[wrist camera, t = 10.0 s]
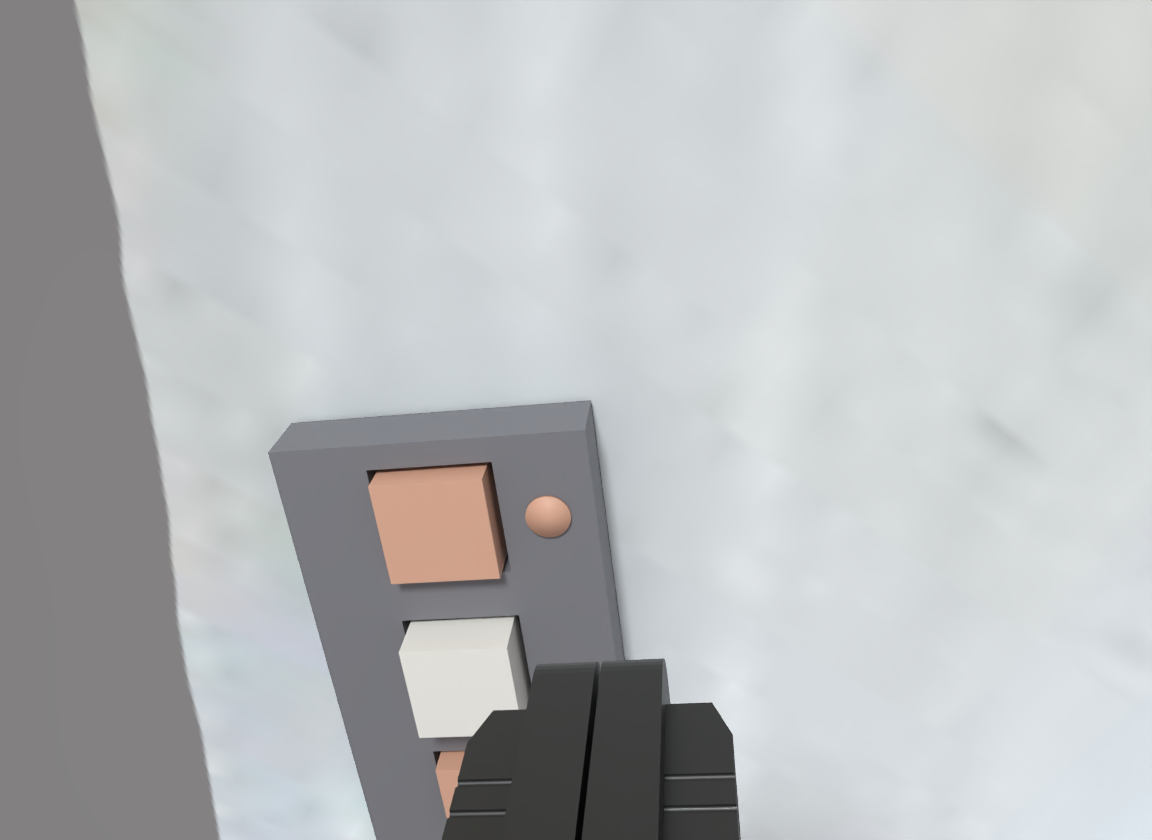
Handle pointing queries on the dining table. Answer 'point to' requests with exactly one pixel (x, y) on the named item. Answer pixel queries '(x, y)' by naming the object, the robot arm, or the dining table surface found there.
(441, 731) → the key middle
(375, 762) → the keypad
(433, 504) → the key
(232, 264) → the dining table surface
